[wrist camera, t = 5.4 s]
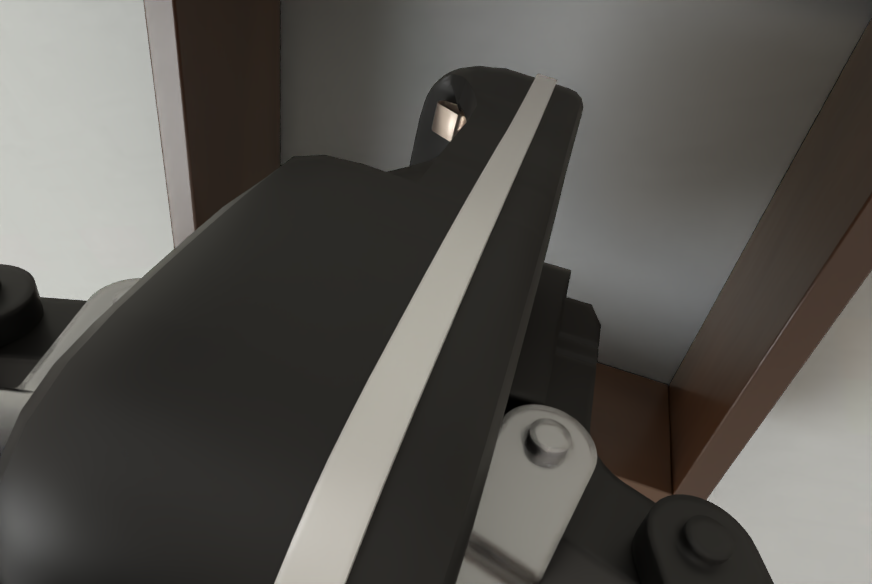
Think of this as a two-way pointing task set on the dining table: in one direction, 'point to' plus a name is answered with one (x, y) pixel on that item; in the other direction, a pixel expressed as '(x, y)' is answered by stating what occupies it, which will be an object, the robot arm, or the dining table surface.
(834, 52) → the dining table surface
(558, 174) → the battery charger
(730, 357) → the walnut box
